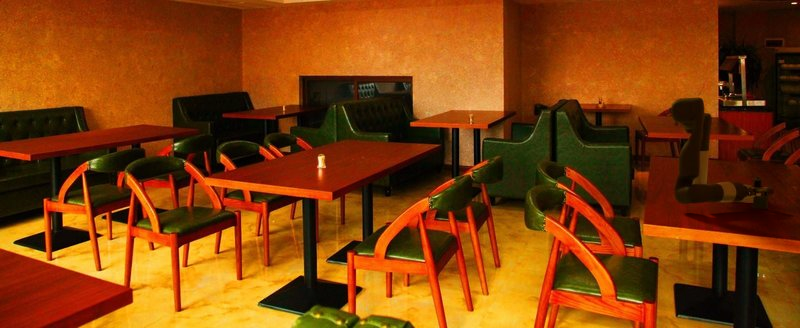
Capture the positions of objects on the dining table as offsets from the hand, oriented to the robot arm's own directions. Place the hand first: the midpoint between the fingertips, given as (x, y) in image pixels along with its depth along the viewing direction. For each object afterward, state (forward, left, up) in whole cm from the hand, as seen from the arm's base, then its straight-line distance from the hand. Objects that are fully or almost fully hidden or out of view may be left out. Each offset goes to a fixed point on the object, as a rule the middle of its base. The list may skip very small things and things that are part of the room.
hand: (766, 189), depth 236 cm
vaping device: (-2, -2, -7) cm, 8 cm away
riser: (-7, +13, -7) cm, 16 cm away
